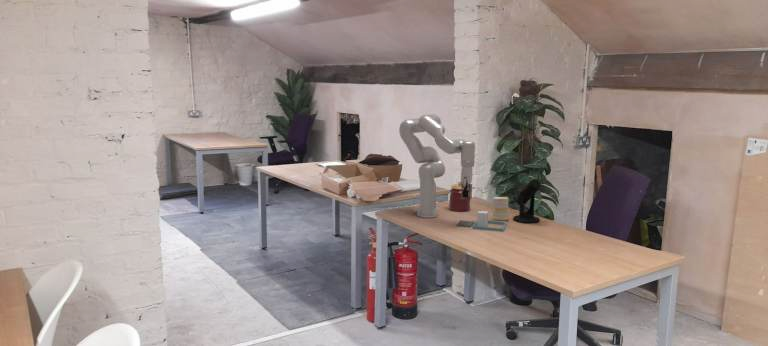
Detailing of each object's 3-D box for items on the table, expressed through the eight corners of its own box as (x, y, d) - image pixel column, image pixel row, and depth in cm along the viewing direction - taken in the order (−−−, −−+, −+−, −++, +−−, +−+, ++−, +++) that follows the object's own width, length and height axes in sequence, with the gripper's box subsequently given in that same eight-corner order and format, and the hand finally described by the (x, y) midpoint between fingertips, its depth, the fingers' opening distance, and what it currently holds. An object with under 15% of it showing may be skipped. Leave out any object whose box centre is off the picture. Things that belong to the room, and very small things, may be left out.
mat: (456, 225, 307) (456, 224, 307) (460, 221, 317) (460, 220, 317) (470, 227, 305) (470, 225, 305) (474, 222, 314) (474, 221, 314)
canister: (472, 208, 349) (473, 180, 346) (466, 212, 337) (467, 184, 334) (452, 206, 354) (453, 179, 351) (446, 210, 343) (447, 182, 340)
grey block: (477, 226, 306) (477, 212, 305) (478, 224, 311) (479, 210, 310) (486, 227, 305) (486, 213, 303) (487, 225, 309) (488, 211, 308)
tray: (472, 228, 302) (472, 225, 302) (476, 222, 316) (476, 219, 316) (503, 231, 297) (503, 228, 297) (506, 224, 311) (506, 222, 310)
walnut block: (461, 199, 307) (461, 185, 305) (462, 197, 311) (463, 183, 310) (470, 200, 305) (470, 185, 304) (471, 198, 310) (472, 184, 308)
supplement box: (506, 218, 324) (507, 196, 322) (507, 220, 319) (508, 198, 317) (492, 218, 325) (493, 196, 323) (493, 220, 320) (494, 198, 318)
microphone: (525, 225, 310) (528, 181, 305) (506, 218, 325) (508, 176, 321) (546, 222, 316) (549, 179, 311) (527, 215, 331) (529, 174, 327)
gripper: (463, 161, 314) (462, 192, 317) (457, 165, 298) (456, 198, 301) (476, 161, 312) (475, 193, 315) (471, 166, 296) (470, 199, 299)
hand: (466, 195), depth 308 cm, fingers closed on walnut block, 5 cm apart
